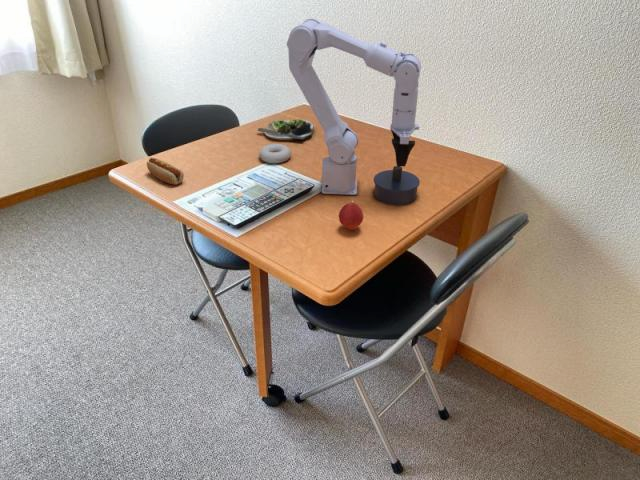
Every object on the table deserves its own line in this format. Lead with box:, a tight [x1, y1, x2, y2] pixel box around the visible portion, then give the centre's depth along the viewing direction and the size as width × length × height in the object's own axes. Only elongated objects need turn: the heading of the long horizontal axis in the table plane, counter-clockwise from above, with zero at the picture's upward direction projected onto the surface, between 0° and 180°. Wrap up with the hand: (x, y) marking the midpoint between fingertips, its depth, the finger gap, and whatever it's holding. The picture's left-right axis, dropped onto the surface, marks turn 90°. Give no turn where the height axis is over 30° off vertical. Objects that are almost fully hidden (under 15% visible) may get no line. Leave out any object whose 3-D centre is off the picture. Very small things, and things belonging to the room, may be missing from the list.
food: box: [146, 157, 185, 186], centre depth 137 cm, size 14×6×5 cm, turn 49°
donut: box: [258, 143, 292, 164], centre depth 149 cm, size 10×4×10 cm
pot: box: [374, 184, 418, 206], centre depth 129 cm, size 11×11×4 cm
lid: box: [373, 165, 420, 192], centre depth 127 cm, size 12×12×5 cm
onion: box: [338, 200, 364, 231], centre depth 114 cm, size 6×6×8 cm
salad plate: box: [256, 119, 315, 142], centre depth 166 cm, size 19×18×5 cm
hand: (400, 159), depth 125 cm, fingers open, 7 cm apart
